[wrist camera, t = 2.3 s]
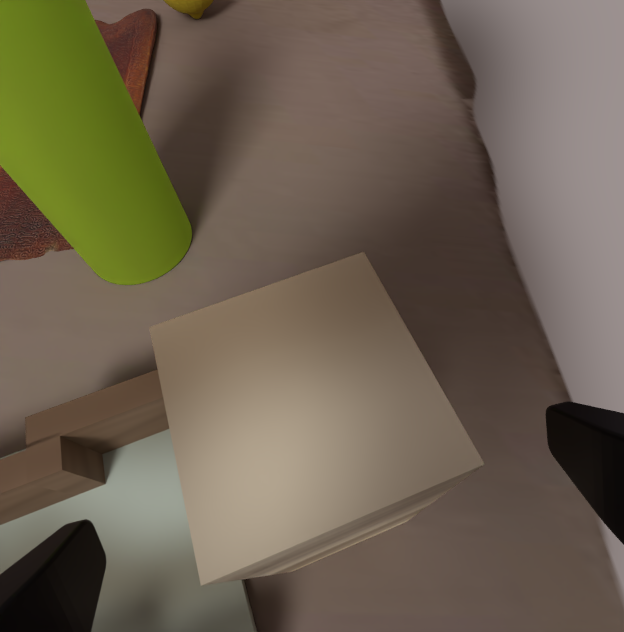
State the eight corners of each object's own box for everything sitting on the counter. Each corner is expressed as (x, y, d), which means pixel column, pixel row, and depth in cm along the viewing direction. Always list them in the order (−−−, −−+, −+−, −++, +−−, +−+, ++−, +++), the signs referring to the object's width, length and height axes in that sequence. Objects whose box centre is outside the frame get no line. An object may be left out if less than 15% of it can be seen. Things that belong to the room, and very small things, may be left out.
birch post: (405, 522, 16) (484, 464, 6) (292, 571, 15) (201, 586, 6) (356, 413, 18) (363, 251, 9) (257, 453, 18) (149, 326, 8)
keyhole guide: (279, 724, 13) (259, 769, 10) (-109, 908, 12) (-256, 1020, 9) (196, 388, 19) (169, 357, 16) (-70, 488, 18) (-152, 474, 15)
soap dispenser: (88, 206, 26) (-441, -512, 9) (199, 202, 25) (-124, -575, 8) (57, 287, 23) (-841, -554, 6) (182, 284, 22) (-386, -655, 5)
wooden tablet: (55, 35, 38) (43, 15, 37) (164, 20, 38) (157, -1, 37) (-46, 275, 25) (-71, 257, 23) (123, 254, 24) (109, 235, 23)
